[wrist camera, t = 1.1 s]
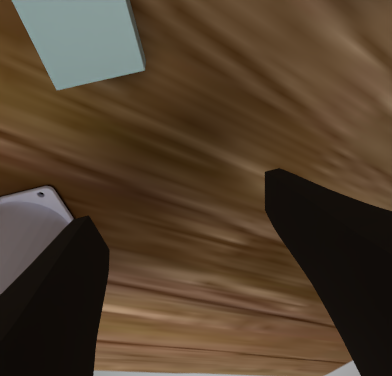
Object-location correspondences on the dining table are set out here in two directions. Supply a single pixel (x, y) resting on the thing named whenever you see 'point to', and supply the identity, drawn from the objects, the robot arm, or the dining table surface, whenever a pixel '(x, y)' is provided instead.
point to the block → (83, 39)
